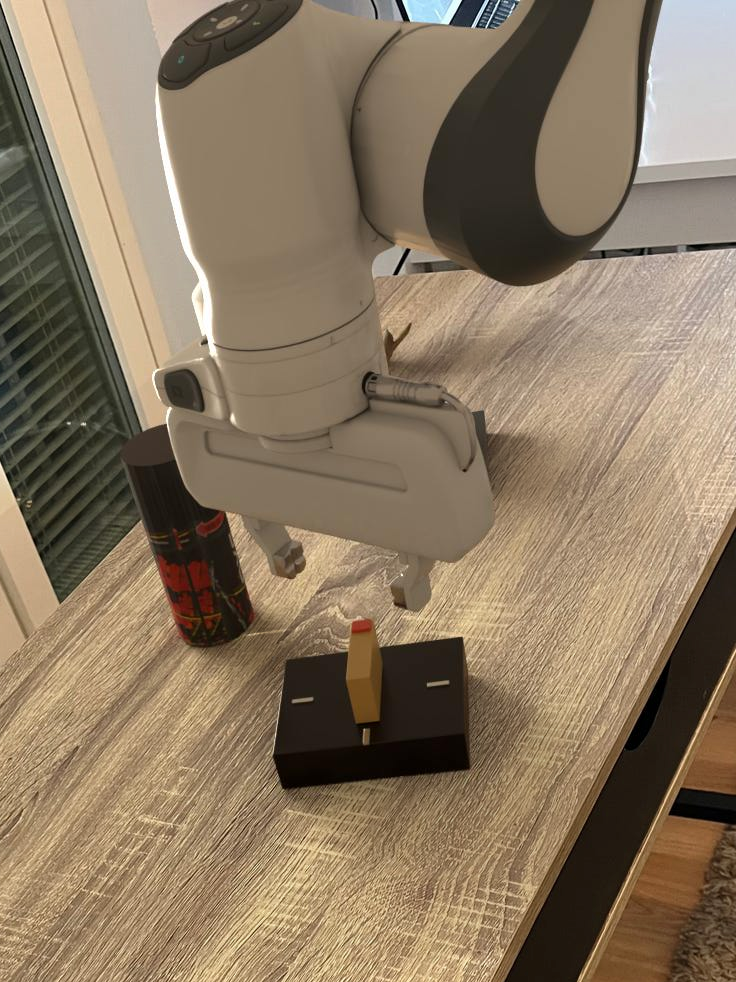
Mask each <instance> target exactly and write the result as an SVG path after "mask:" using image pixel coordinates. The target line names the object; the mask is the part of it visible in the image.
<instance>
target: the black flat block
mask: <svg viewBox="0 0 736 982" xmlns="http://www.w3.org/2000/svg"><path fill="white" fill-rule="evenodd" d="M464 641H465V640H464V637H463V636H455V637H447V638H440V639H432V640H424V641H416V642H409V643H401V644H394V645H386V646H379V649H380V653H381V658H382V663H383V664H382V683H381V701H380V720H379V721H375V722H366V723H358V724H356V721H355V717H354V713H353V708H352V704H351V700H350V695H349V691H348V687H347V682H346V674H347V663H348V651H349V650H348V651H347V650H346V651H341V652H340V651H339V652H332V653H326V654H317V655H310V656H303V657H302V656H301V657H293V658H287V659H285V665H284V671H283V678H282V679H283V680H282V685H281V691H280V692H281V693H280V698H279V699H280V700H279V707H278V713H277V719H276V726H275V735H274V740H273V748H272V755H271V756H272V758H273V763H274V765H275V768H276V773H277V776H278V779H279V783H280V786H281V789H282V790H289V789H300V788H307V787H318V786H328V785H337V784H346V783H355V782H365V781H374V780H383V779H382V778H384V779H392V778H391V777H394V778H401V777H400V776H403V777H411V776H420V775H419V774H422V775H430V774H431V775H432V774H439V773H448V772H458V771H467V770H471V746H470V745H471V744H470V743H471V742H470V741H471V740H470V696H469V695H470V694H469V668H468V661H467V655H466V648H465V642H464Z"/></svg>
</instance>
